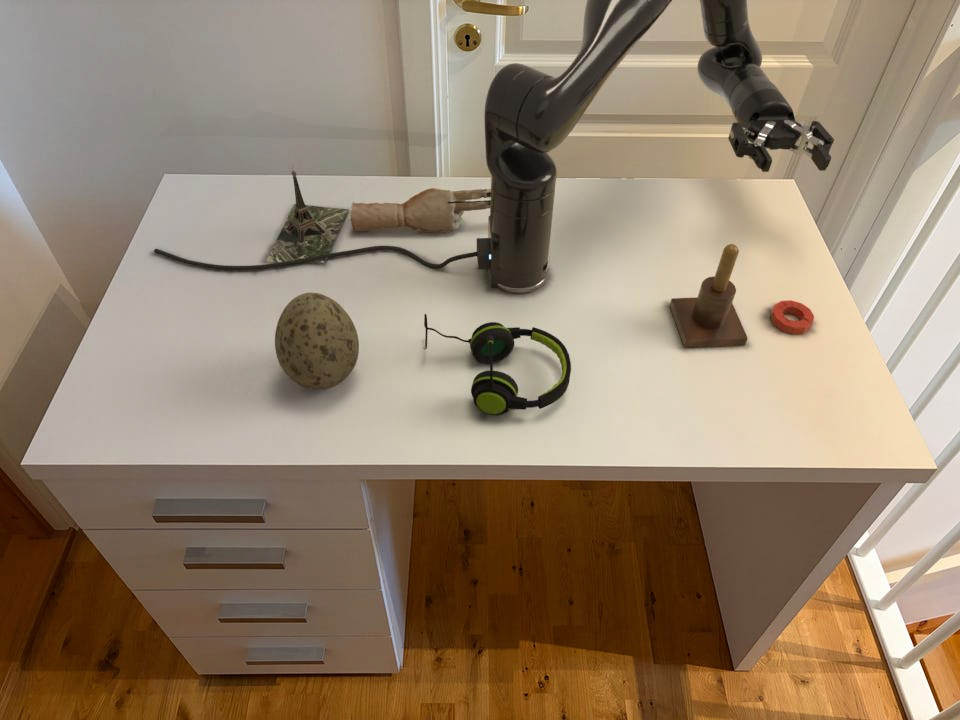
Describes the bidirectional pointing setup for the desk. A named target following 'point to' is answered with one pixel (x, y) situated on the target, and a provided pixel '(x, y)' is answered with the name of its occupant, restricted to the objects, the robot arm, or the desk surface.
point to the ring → (791, 325)
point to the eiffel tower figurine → (307, 231)
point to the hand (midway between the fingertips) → (797, 166)
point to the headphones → (496, 387)
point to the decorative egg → (316, 342)
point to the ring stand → (711, 309)
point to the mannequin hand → (420, 211)
